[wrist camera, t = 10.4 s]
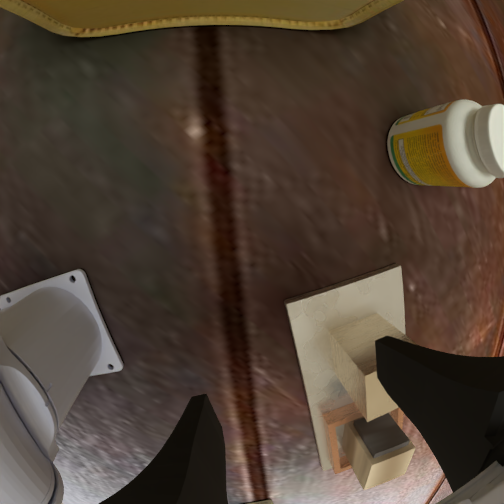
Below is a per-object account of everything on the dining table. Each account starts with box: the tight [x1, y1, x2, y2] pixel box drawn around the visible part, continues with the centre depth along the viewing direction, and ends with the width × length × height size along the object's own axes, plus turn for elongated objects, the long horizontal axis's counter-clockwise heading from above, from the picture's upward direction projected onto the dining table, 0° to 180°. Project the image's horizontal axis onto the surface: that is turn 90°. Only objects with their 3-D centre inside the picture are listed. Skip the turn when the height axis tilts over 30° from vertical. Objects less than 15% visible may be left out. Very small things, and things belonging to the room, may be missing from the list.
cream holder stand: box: [284, 263, 417, 474], centre depth 20 cm, size 9×20×7 cm, turn 15°
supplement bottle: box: [387, 100, 504, 188], centre depth 15 cm, size 5×5×10 cm
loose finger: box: [341, 413, 416, 490], centre depth 20 cm, size 4×5×6 cm
